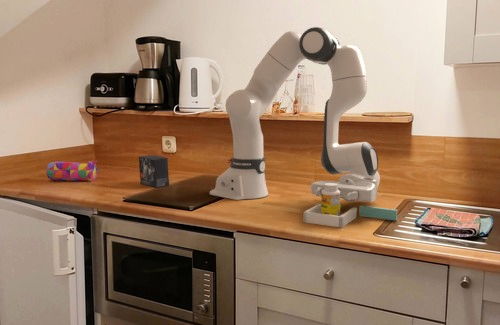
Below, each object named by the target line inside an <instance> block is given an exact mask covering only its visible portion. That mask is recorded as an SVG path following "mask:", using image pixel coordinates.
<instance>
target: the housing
mask: <svg viewBox="0 0 500 325" xmlns="http://www.w3.org/2000/svg"><path fill="white" fill-rule="evenodd" d="M357 210H358V209H357V207H352V208H350V209H349V210H348V211H345V212H344V213H342V214H341V213H340V216H336V215H328V214H321V203H317V204H316V205H314V206H312V207H310V208H308V209H307V210H305V211H303V216H302V217H303V220H302V222H303V223H307V224H315V225H322V226H329V227H333V228H335V227H336V228H341V229H342V228H344V227H346V226H347V225H348V224H349V223H351V222H352V221H353V220H355V219H356V218H357Z"/></svg>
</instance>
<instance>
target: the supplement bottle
mask: <svg viewBox="0 0 500 325" xmlns="http://www.w3.org/2000/svg"><path fill="white" fill-rule="evenodd" d="M320 197H321V214H328V215H336V216H340V214H341V198H340V191H339V190H338V184H336V183H325V184H324V190H322V192H321V196H320Z"/></svg>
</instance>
